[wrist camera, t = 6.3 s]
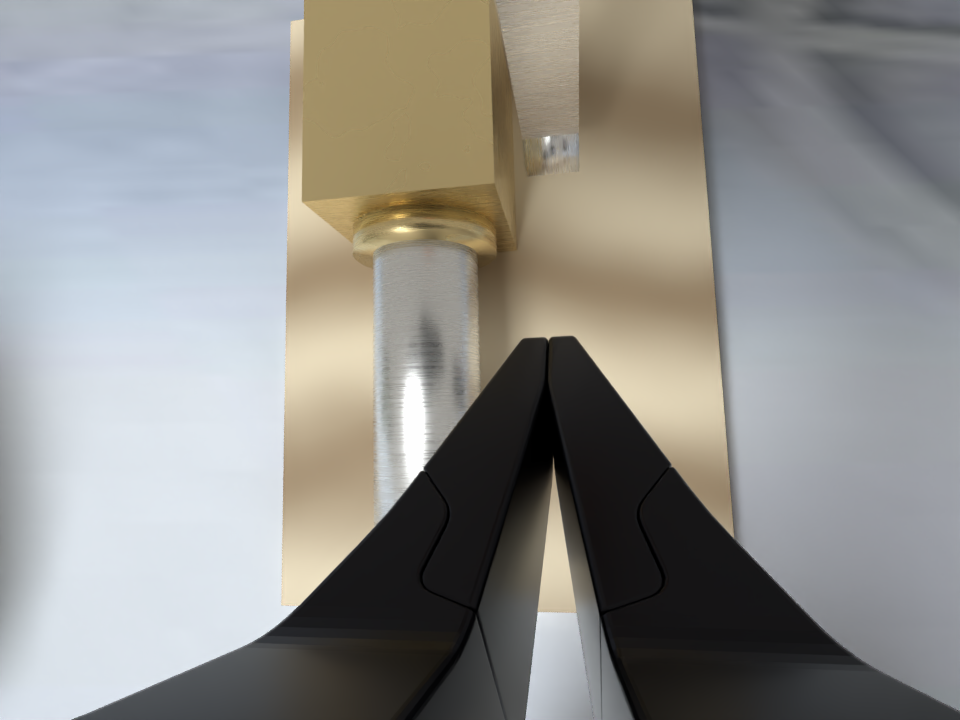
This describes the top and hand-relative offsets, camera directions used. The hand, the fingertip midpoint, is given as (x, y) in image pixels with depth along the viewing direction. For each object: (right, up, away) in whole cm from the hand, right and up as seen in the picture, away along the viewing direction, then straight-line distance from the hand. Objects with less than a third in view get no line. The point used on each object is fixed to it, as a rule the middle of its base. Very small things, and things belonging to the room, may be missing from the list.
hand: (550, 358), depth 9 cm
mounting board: (-1, +3, +12) cm, 12 cm away
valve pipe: (-2, +3, +11) cm, 12 cm away
